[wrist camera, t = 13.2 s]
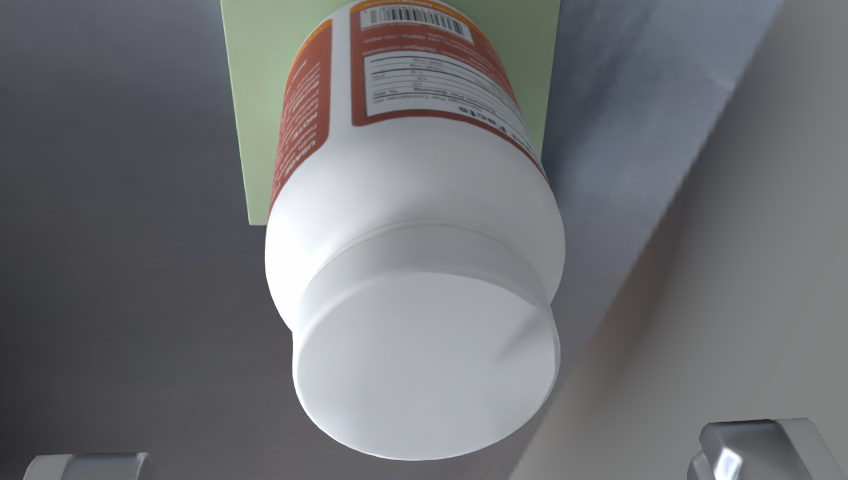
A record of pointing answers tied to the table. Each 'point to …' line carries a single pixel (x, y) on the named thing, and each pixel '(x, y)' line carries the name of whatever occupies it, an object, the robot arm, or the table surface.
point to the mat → (310, 4)
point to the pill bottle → (412, 235)
